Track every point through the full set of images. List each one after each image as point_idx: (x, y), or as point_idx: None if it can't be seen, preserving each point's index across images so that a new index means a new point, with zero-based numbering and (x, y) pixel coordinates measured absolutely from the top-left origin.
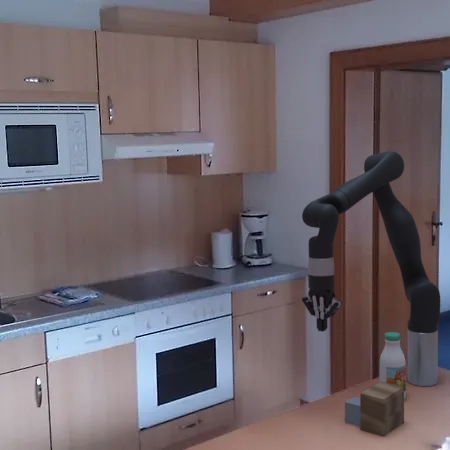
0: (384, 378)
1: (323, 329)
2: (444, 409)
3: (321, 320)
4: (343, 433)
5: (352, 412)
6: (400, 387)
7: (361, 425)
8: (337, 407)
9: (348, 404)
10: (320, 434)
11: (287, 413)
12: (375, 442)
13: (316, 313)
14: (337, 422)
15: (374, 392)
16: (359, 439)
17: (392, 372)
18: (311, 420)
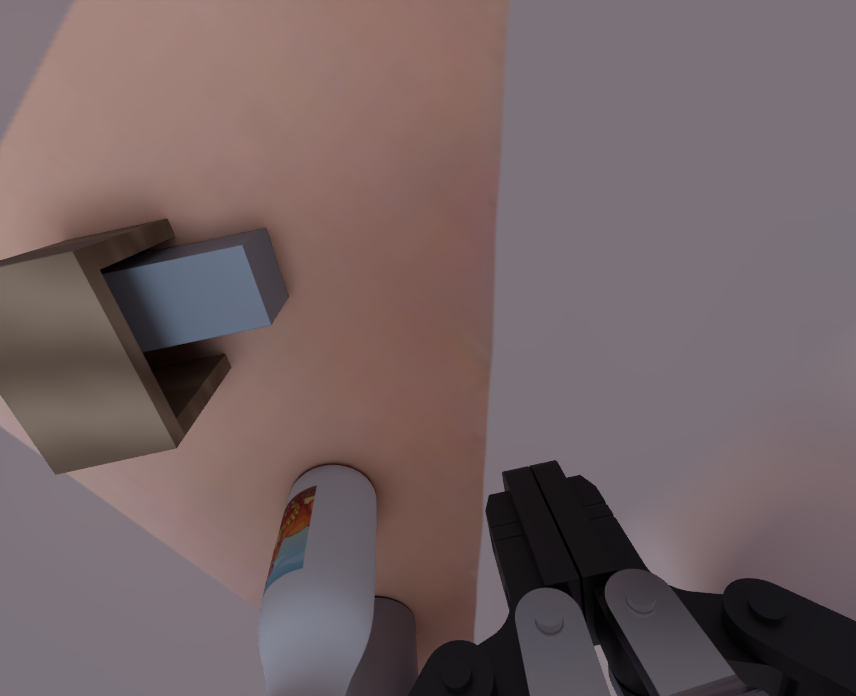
0: (318, 523)
1: (499, 495)
2: (164, 540)
3: (546, 570)
4: (172, 133)
5: (214, 245)
6: (54, 457)
7: (153, 222)
8: (394, 308)
9: (224, 247)
10: (217, 38)
11: (489, 99)
12: (27, 170)
13: (682, 643)
14: (280, 200)
15: (48, 320)
16: (84, 140)
17: (282, 559)
18: (363, 127)
